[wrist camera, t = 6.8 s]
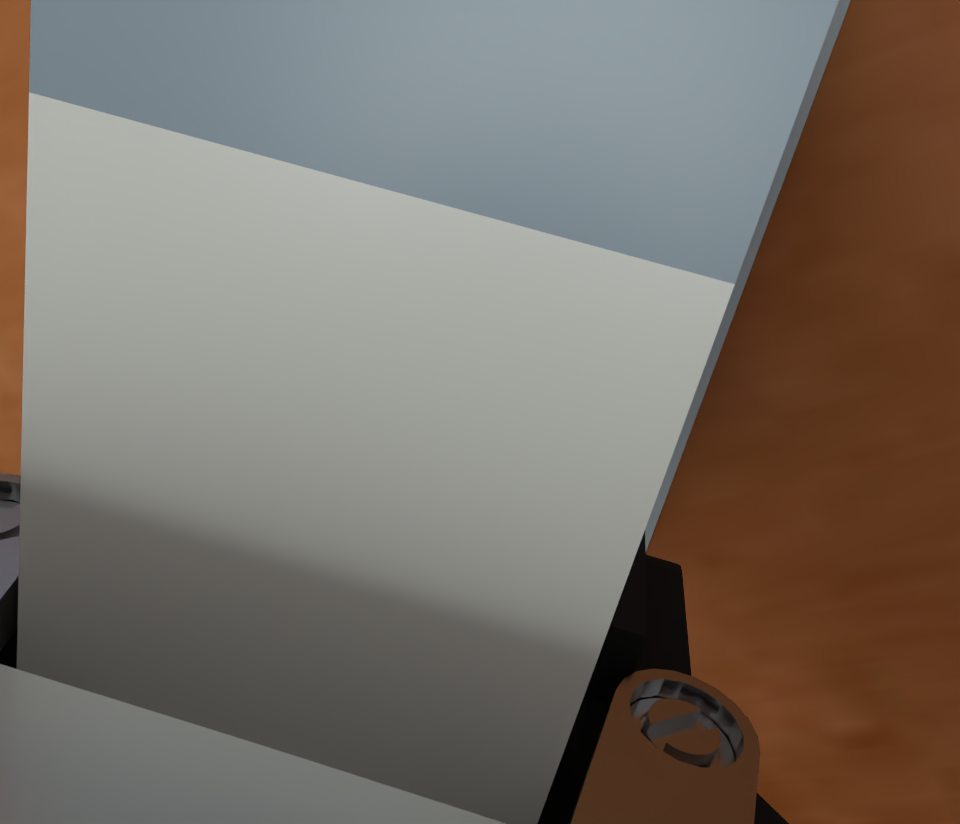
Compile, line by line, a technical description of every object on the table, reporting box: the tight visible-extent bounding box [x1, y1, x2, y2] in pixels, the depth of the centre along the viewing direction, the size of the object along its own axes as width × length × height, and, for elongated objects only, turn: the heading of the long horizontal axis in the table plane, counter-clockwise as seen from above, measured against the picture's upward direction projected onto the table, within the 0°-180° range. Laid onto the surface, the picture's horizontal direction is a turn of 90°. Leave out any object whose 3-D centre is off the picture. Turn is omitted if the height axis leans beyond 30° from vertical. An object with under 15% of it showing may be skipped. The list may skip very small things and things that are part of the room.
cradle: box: [645, 0, 851, 550], centre depth 26 cm, size 20×12×3 cm, turn 167°
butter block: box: [17, 0, 839, 824], centre depth 9 cm, size 14×4×6 cm, turn 167°
